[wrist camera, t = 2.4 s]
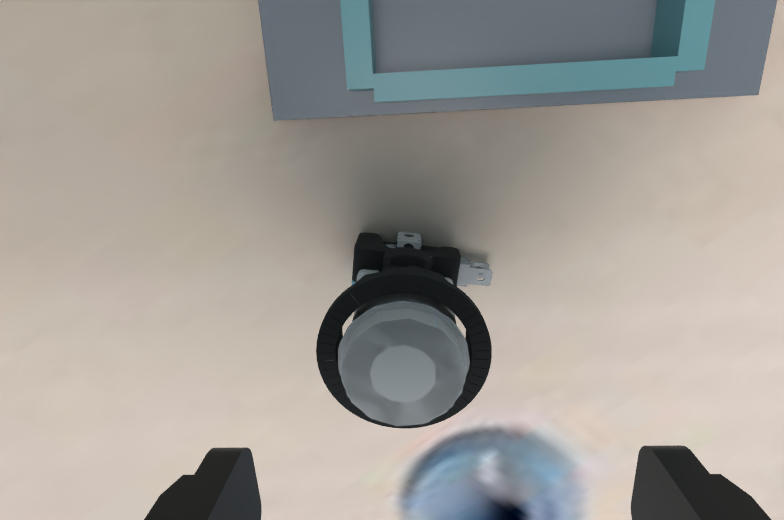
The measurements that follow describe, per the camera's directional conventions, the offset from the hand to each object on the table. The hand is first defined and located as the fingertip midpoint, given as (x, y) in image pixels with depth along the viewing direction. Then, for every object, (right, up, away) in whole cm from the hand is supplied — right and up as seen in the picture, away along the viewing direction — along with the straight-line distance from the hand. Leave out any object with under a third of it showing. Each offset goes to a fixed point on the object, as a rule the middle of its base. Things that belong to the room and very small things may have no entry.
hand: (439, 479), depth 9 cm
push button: (0, +5, +13) cm, 14 cm away
